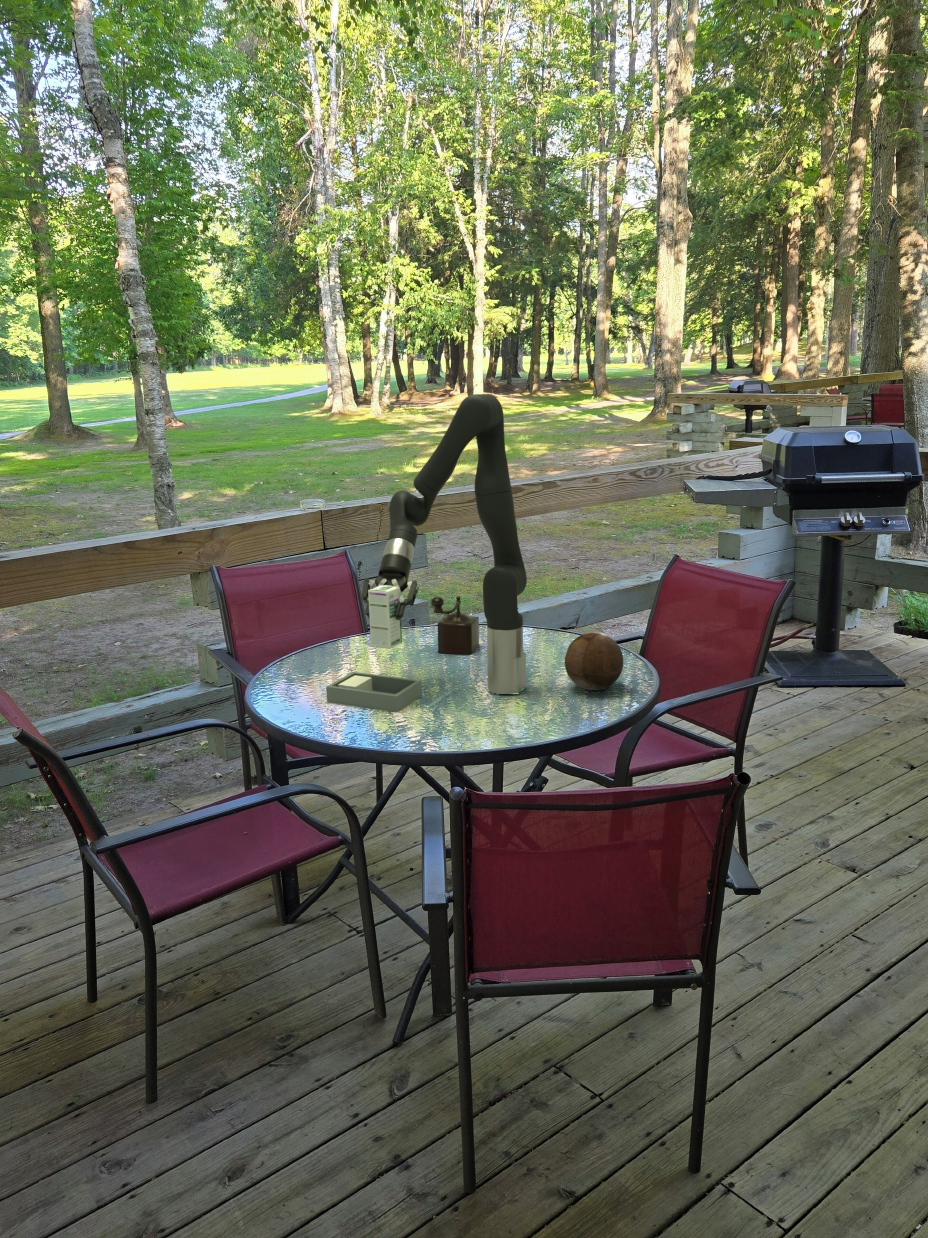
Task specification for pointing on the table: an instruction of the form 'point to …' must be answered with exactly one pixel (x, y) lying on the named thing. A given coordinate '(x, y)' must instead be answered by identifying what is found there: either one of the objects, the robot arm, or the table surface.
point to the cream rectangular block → (358, 683)
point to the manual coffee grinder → (456, 630)
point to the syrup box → (384, 617)
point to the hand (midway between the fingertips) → (383, 617)
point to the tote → (377, 692)
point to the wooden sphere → (594, 661)
